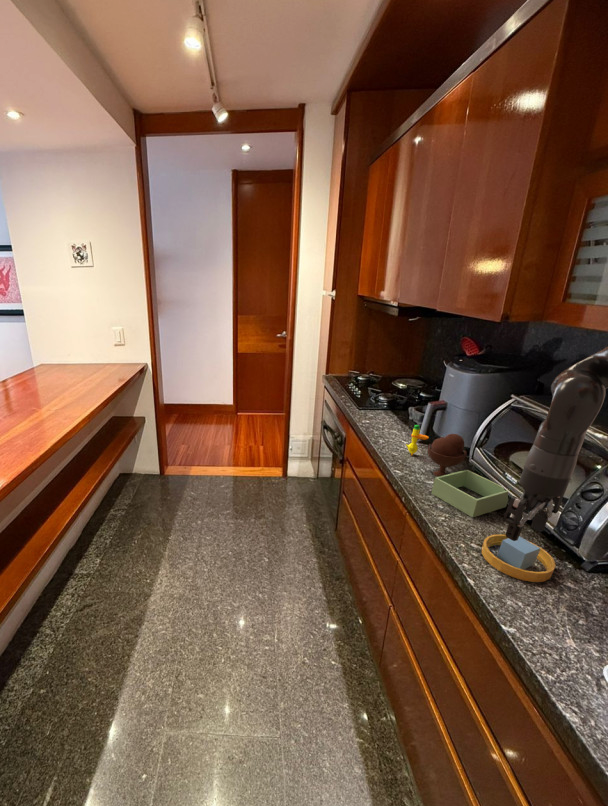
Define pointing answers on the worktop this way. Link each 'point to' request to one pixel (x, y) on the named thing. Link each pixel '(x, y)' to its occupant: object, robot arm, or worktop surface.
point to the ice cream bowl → (447, 452)
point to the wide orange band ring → (514, 571)
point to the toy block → (518, 553)
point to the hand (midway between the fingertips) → (524, 534)
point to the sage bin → (471, 506)
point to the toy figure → (415, 439)
